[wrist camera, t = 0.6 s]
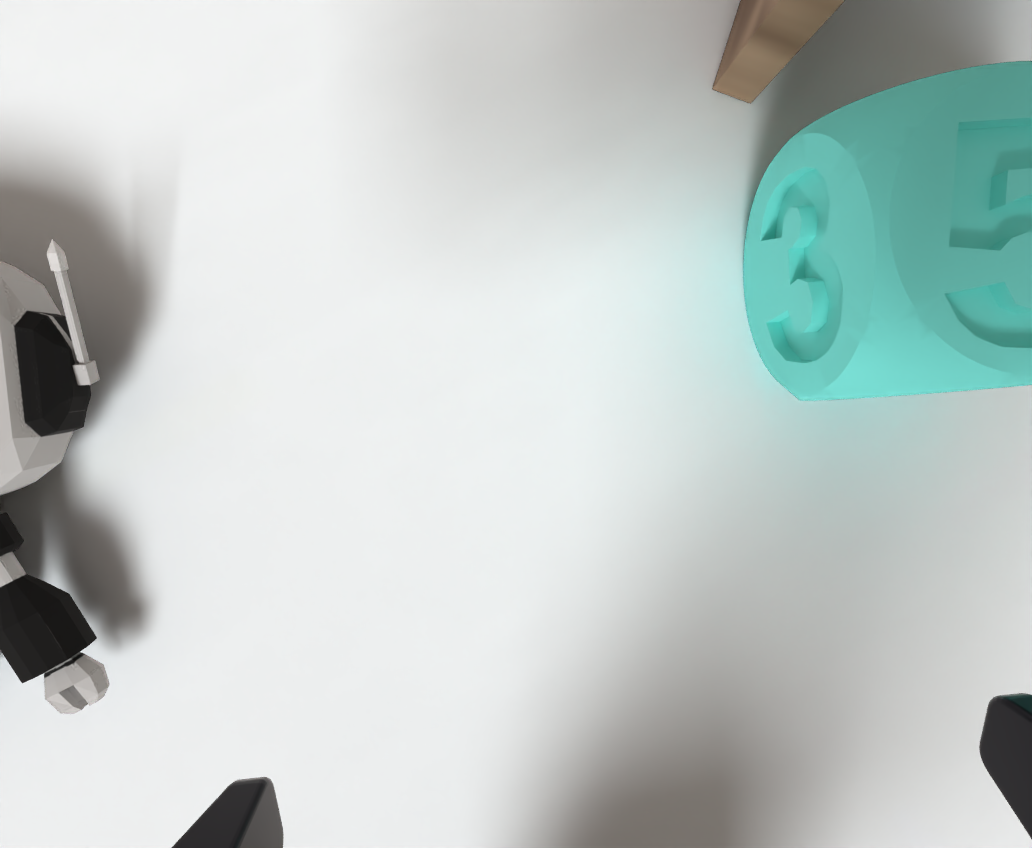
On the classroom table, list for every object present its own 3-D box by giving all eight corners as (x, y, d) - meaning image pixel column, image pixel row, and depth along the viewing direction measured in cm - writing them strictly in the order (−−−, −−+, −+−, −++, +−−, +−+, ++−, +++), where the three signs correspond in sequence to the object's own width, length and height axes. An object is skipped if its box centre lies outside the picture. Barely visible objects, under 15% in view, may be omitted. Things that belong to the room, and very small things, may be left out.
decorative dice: (941, 168, 24) (1175, 47, 16) (957, 382, 24) (1196, 369, 16) (732, 182, 23) (867, 65, 15) (750, 402, 24) (893, 398, 16)
